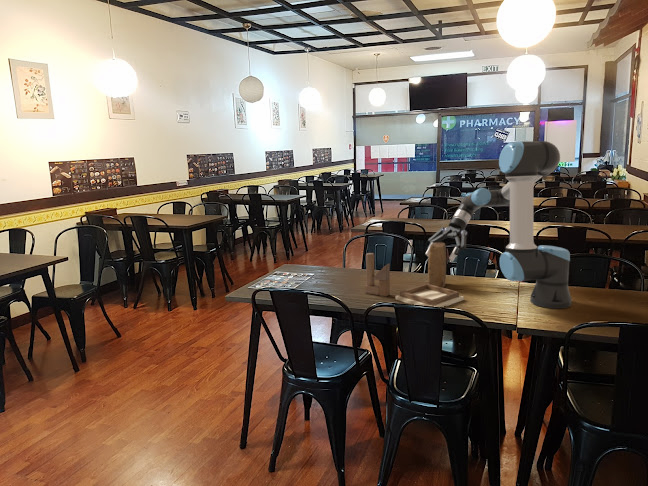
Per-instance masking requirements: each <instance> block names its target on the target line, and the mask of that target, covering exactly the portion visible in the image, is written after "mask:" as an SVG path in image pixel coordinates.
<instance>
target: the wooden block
mask: <svg viewBox="0 0 648 486" xmlns="http://www.w3.org/2000/svg"><path fill="white" fill-rule="evenodd" d="M365 256H366V257H365V261H366V263H365V266H366V269H365V270H366V271H365V274H366V277H365V278H366V279H365V280H366V281H365V282H366V284H365V285H364V294H370V295H374V296H380V297H388V296H389V295H390V293H391V290H390V289H391V288H390V285H391V283H390V282H391V281H390V279H391V278H390V277H391V276H390V275H391V273H390V271H391V268H390V267H391V266H390V264H391V263H387V264H386V265H384V266H383V267H382V268H381V269H380V270H379V271H378V272H377V273H376V274H375V253H373V252H367V253H366V254H365ZM375 280H378V282H379V283H378V284H375Z"/></svg>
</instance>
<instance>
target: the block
mask: <svg viewBox="0 0 648 486" xmlns="http://www.w3.org/2000/svg"><path fill="white" fill-rule="evenodd" d="M429 245H430V244H429ZM427 265H428V266H427V281H428V283H427V284H430V285H434V286H438V287H442V288H445V286H446V278H447V247H446V243H445V242H442V241H440V242H438V243H432V244H431V245H430V248H429V257H428V261H427Z"/></svg>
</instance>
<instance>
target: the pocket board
mask: <svg viewBox="0 0 648 486" xmlns="http://www.w3.org/2000/svg"><path fill="white" fill-rule="evenodd" d="M464 297H465V296H462V295H460V292H459V291H457V290H453V289H449V288H445V287H438V286H434V285H430V284H428V283H424V284H421V285H420V284H419V285H418V286H414V287H410V288H408V289H405V290H400V291H399V294H398V295H395V300H396V301H399V302H403V303H405V304H409V305H412V304H414V305H413V306H415V305H423V306H434V307H443V308H445V307H444V306H446V307H448V306H450V305H453V304H456V303H459V302H462V301H464V300H465V299H464Z"/></svg>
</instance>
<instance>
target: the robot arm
mask: <svg viewBox="0 0 648 486" xmlns="http://www.w3.org/2000/svg"><path fill="white" fill-rule="evenodd" d="M560 153H561V152H560V151H559V149H558V147H557V146H556V145H555V144H553V143H551V142H550V141H548V140H547V141H546V140H545V141H544V140H540V141H539V140H538V141H533V140H532V141H527V140H526V141H511V142H509V143H507V144H505V146H504V147H503V148H502V150H501V152H500V154H499V158H498V159H499V160H498V167H499V168H500V169H499V171H501V172H502V173H503V174H505V179H506V180H507V181H508V182H507V183H506V184H505V185H504V186H503V187H502V188H501V189H491V190H489V189H488V188H485V187H480V188H477V189H476V190H474V191H473V192H467V193H466V194H465V195H464V197H463V198H462V201H461V202H460V205H459V206H458V207H457V209H456V211H455V213H454V215H453V216H452V218H451V219H450V221H449V223H448V227H447V228H446V227H445V226H441V227H440V229H439V230H438V231H436V233H433V235H432V236H431V237H429V238H428V239H427V241H428V242H429V245H428V246H427V250H426V252H425V255H426V256H427V258H429V248H430V245H431V244H432V243H438V242H442V241H443V240H445V239H448V238H449V239H453V240H454V239H455V243H456V246H455V247H454V248H453V250H452V252H451V254H450V255H449V256H448V257H449V258H448V259H449V261H450V262H452V263H453V262H454V260H455V259H456V257H457V256H459V254H460V252H461V251H462V250H467V236H468V231H467V230H466V227H467V225H468V224H469V221H470V220H471V219H472V217H473V216H474V213H475V212H476V211H477V210H479V209H480V208H488V207H489V208H490V207H509V243H508V244H507V245H506V246H505V251H504V252H502V253H501V254H500V257H499V268H500V270H501V272H502V275H503V276H504V278H506V279H507V281H511V282H526V281H535V285H534V287H533V289H532V292H531V294H530V303H532V304H533V305H535V306H537V307H542V308H547V309H566V308H570V307H571V306H572V301H573V300H572V297H571V293H570V289H569V275H570V262H571V253H570V251H569V250H568V249H566V248H563V247H560V246H559V247H558V246H554V245H547V244H546V245H538V246H537V245H536V244H535V241H534V184H535V183H536V182H538V181H539V180H540V179H542V177H547V176H549V175H550V174H551V173H553V172H554V171H555V170H556V169H557V168H558V166H559V164H560V162H561V154H560ZM460 236H461V240H460Z"/></svg>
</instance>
